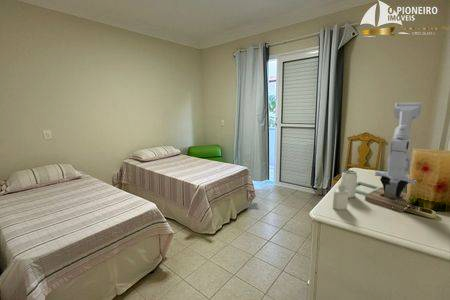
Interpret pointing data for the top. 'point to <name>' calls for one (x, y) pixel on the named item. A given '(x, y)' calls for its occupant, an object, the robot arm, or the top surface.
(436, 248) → the top surface
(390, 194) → the billet
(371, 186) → the grey rectangular frame
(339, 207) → the eye dropper bottle
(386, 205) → the pallet
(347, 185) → the can
